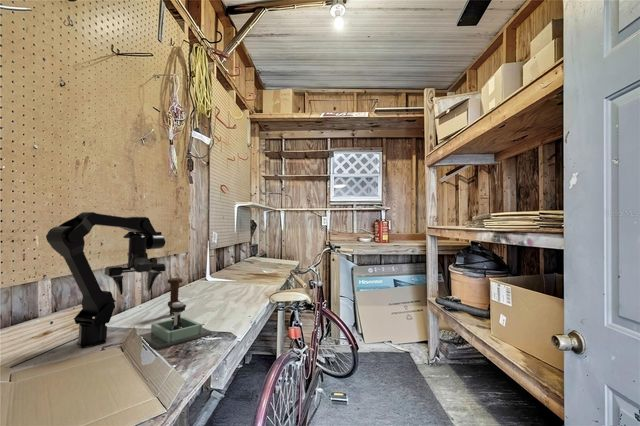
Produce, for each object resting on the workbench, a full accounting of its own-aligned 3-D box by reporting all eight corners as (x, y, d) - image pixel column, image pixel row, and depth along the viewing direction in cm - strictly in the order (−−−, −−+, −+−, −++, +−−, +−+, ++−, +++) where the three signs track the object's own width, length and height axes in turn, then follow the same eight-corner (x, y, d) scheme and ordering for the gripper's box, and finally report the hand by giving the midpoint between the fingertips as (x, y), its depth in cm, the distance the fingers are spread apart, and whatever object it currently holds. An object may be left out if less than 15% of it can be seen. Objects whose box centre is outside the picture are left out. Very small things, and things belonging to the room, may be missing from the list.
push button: (180, 336, 101) (181, 306, 101) (163, 336, 100) (165, 306, 101) (187, 329, 107) (188, 301, 108) (171, 329, 107) (173, 301, 107)
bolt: (182, 314, 129) (183, 279, 130) (170, 316, 126) (171, 280, 127) (176, 311, 133) (178, 277, 134) (164, 313, 130) (166, 278, 131)
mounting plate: (157, 349, 92) (157, 345, 92) (139, 337, 101) (140, 334, 101) (211, 334, 106) (211, 331, 106) (191, 325, 115) (191, 322, 115)
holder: (168, 342, 95) (168, 332, 95) (150, 332, 104) (151, 323, 104) (202, 333, 104) (202, 324, 104) (183, 325, 112) (184, 316, 113)
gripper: (115, 252, 100) (112, 300, 99) (172, 250, 114) (170, 292, 113) (105, 250, 107) (102, 295, 106) (160, 248, 121) (158, 288, 121)
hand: (135, 292), depth 111 cm, fingers open, 9 cm apart
